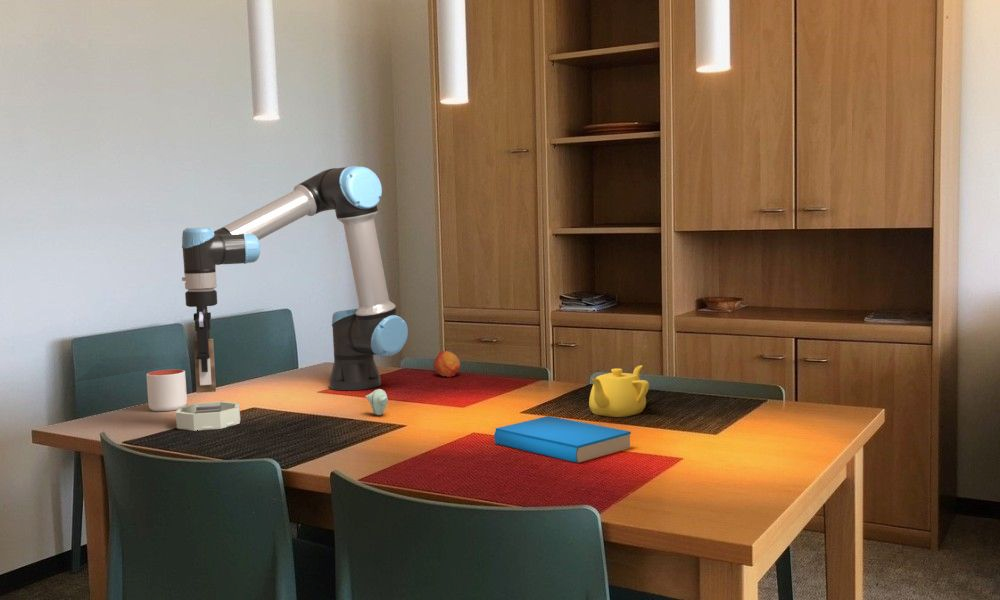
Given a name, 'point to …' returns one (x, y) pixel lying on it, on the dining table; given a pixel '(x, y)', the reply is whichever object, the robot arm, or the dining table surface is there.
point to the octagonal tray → (208, 416)
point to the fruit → (447, 364)
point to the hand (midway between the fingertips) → (206, 383)
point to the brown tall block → (213, 383)
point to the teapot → (618, 393)
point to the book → (563, 438)
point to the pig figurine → (378, 401)
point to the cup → (166, 390)
